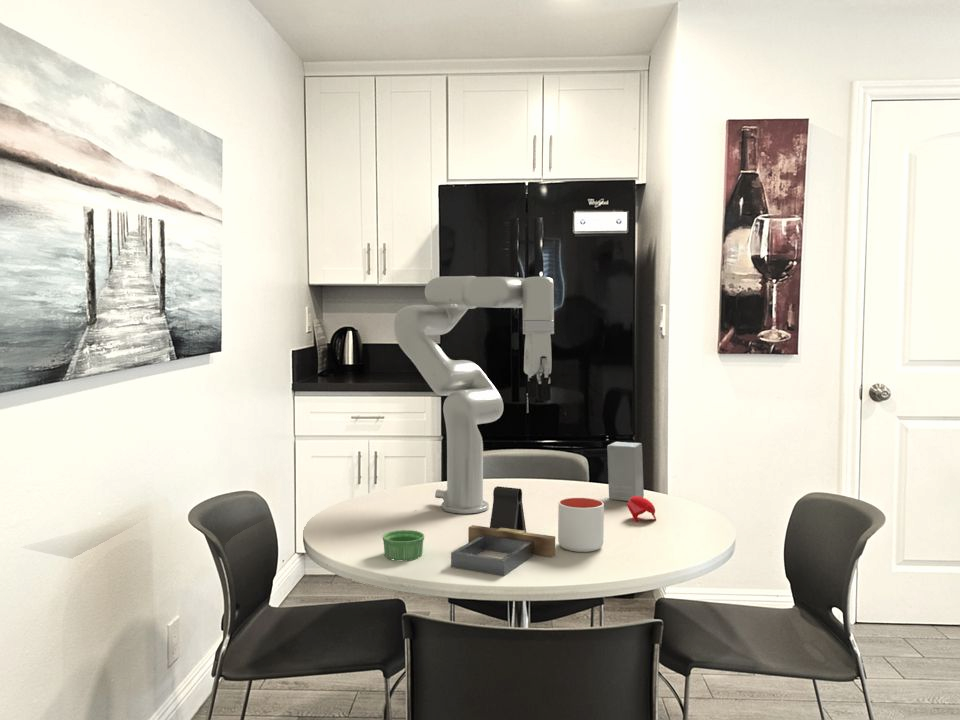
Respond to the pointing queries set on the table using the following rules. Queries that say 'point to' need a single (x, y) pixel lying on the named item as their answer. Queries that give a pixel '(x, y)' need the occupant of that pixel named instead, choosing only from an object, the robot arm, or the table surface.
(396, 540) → the ramekin
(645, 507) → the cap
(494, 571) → the frame
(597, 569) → the table surface
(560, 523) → the cup
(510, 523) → the phone stand
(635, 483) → the skincare box
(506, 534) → the door edge rail
